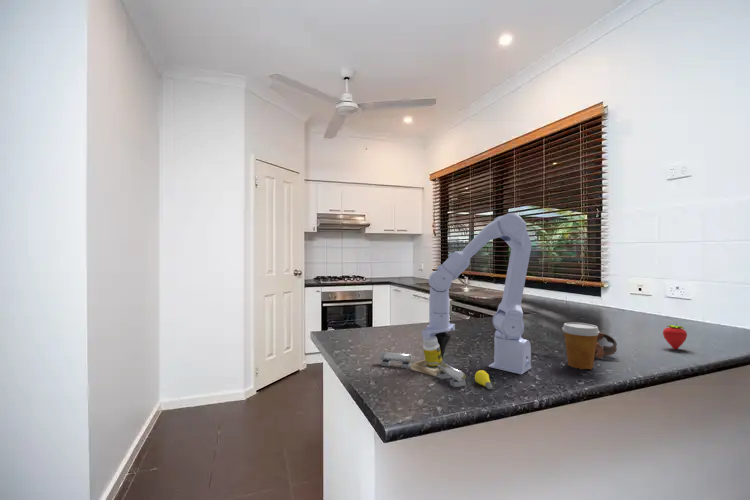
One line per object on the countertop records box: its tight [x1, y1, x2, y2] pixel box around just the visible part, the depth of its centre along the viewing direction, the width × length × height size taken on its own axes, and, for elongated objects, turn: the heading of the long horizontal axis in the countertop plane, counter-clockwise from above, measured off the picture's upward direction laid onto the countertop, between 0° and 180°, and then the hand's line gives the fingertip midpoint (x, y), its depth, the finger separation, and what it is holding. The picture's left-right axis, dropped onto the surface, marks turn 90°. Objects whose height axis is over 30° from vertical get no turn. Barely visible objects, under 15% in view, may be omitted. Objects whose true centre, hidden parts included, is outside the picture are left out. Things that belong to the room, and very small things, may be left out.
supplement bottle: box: [422, 336, 443, 370], centre depth 101 cm, size 5×5×8 cm
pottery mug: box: [595, 332, 618, 359], centre depth 117 cm, size 12×10×8 cm
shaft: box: [436, 361, 467, 388], centre depth 91 cm, size 9×3×4 cm, turn 22°
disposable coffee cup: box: [561, 322, 601, 370], centre depth 104 cm, size 10×10×12 cm
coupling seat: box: [410, 358, 441, 377], centre depth 100 cm, size 8×7×1 cm
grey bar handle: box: [379, 351, 413, 370], centre depth 104 cm, size 9×3×4 cm, turn 72°
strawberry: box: [662, 320, 688, 350], centre depth 125 cm, size 6×8×10 cm
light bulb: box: [474, 369, 493, 390], centre depth 89 cm, size 3×6×4 cm, turn 14°
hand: (438, 358), depth 104 cm, fingers closed, pressing on supplement bottle
